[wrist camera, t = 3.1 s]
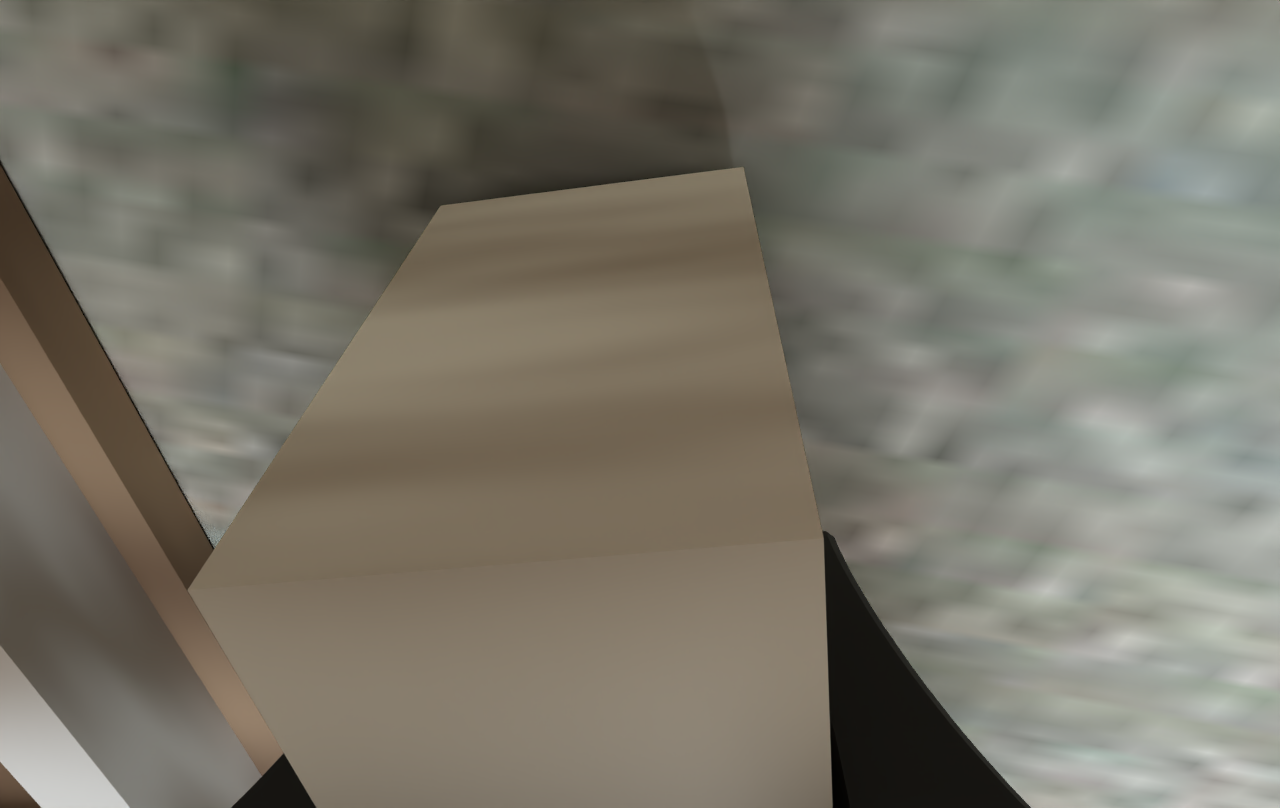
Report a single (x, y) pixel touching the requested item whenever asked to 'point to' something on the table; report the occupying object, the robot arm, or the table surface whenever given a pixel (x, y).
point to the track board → (99, 579)
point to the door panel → (546, 525)
